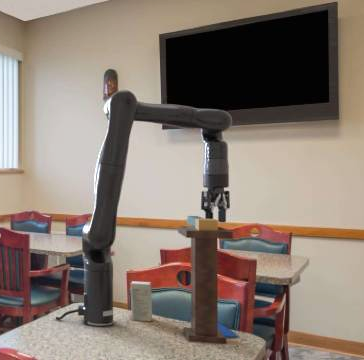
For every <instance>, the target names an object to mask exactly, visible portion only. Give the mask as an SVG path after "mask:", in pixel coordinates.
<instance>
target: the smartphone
mask: <svg viewBox="0 0 364 360" xmlns="http://www.w3.org/2000/svg"><path fill="white" fill-rule="evenodd" d="M218 329H219V330H220V331H221V332H222V334H223V335H224V336H225V337H226V339H228V338H229V339H232V338H233V339H236V338H238V335H237V334H236V333H234V332H233V331H232V330H230V329H229V328H228V327H226V326H225V325H224V324H222V323H221V322H220V321H218Z"/></svg>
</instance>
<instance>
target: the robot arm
mask: <svg viewBox="0 0 364 360" xmlns="http://www.w3.org/2000/svg"><path fill="white" fill-rule="evenodd" d="M103 112H104V114H105V116H106V117H107V119H108V122H107V131H106V134H105V138H104V140H103V142H102V145H101V147H100V150H99V153H98V156H97V160H96V165H95V170H94V179H93V189H94V208H93V213H92V217H91V220H89V221H87V222H86V223H85V224H84V226H83V228H82V233H81V251H82V253H81V254H82V255H81V256H82V261H83V305H78V306H77V308H76V309H73V310H68V311H66V312H64V313H63V314H62V315H61V316H55V320H57V321H61V320H62V319H64V318H65V317H66V316H67V315H70V314H76V313H77V315H78V316H80V317H81V316H82V317H83V325H89V326H94V327H108V326H109V327H110V326H112V325H113V324H114V261H113V259H112V255H111V247H112V246H113V244H114V243H115V241H116V234H117V222H118V221H117V220H118V208H119V203H120V200H121V195H122V190H123V184H124V179H125V174H126V168H127V160H128V154H129V145H130V137H131V132H132V129H133V125H134V122H145V123H151V124H152V123H153V124H159V125H164V126H169V127H176V128H181V129H188V130H194V129H200V134H201V138H202V143H203V146H204V147H203V165H202V186H203V188H206V190H202V191H201V196H200V197H201V198H200V210H201V211H203V212H204V213H205V214H204V216H205V218H204V219H214V210H215V208H216V207H217V210H218V211H217V213H218V214H217V220H218V223H226V222H227V211H228V209H230V208H231V198H230V195H231V194H230V190H225V188H227V189H228V188H229V187H230V164H229V146H228V145H229V144H228V142H227V141H226V140H224V138H223V137H224V136H223V133H224V132H226V131H227V130H229V129H230V128H231V127H232V124H233V117H232V115H231V114H230V113H229V112H228V111H225V110H222V109H217V108H216V109H215V108H197V107H193V106H188V105H181V104H173V103H172V104H171V103H149V102H143V101H138V99H137V97H136V95H135V94H134V93H133V92H132V91H130V90H128V89H121V90H118V91H116V92H114V93H112V94H111V95H110V96H109V97H108V98H106V100H105V102H104V103H103Z"/></svg>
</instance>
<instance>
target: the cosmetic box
mask: <svg viewBox="0 0 364 360" xmlns="http://www.w3.org/2000/svg"><path fill="white" fill-rule="evenodd" d="M152 299H153V298H152V282H151V281H136V280H133V281H131V282H130V305H131V306H130V307H131V310H130V311H131V320H132V321H142V322H152V320H153V302H152Z"/></svg>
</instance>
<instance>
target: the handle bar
mask: <svg viewBox="0 0 364 360" xmlns="http://www.w3.org/2000/svg"><path fill="white" fill-rule="evenodd" d="M186 219H187V224H188V225H189V226H194V227H195V229H197V230H205V231H218V227H219V221H218V219H216V218H213V219H205V218H204V217H202V216H198V215H187V217H186Z"/></svg>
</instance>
